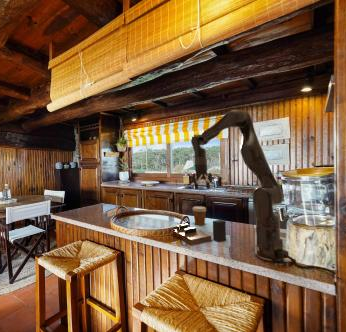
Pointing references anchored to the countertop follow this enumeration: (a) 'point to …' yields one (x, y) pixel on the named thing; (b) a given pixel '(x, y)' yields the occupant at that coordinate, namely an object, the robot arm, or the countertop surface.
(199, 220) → the disposable coffee cup
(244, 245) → the countertop surface
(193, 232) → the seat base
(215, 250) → the countertop surface
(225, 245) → the countertop surface
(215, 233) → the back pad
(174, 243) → the countertop surface
